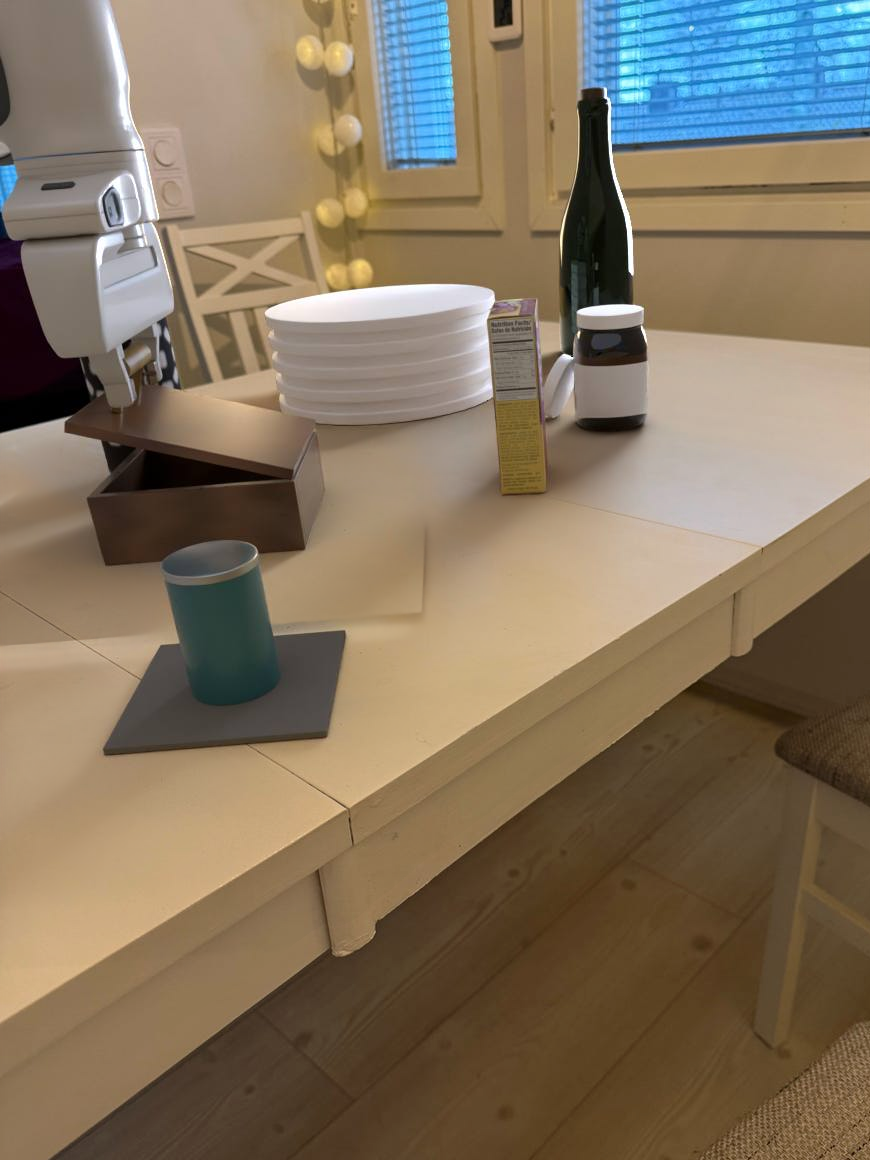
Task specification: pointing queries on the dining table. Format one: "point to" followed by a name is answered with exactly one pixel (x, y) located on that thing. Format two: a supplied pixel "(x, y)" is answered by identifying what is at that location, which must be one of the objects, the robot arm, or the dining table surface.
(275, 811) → the dining table surface
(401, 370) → the plate stack
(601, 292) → the dark green wine bottle
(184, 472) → the storage box
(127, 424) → the lid
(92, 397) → the spotted tube
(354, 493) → the dining table surface
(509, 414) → the candy box
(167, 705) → the mat
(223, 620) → the can
